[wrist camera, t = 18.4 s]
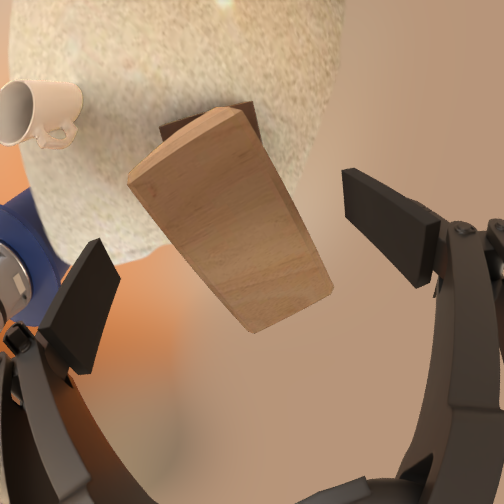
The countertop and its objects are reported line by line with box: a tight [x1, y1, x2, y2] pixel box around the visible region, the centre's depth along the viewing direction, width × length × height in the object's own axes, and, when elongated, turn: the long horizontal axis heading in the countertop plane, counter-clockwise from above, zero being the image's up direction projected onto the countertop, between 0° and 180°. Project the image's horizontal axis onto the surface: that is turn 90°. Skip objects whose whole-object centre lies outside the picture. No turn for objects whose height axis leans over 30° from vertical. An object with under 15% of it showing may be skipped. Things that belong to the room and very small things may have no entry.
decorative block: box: [127, 107, 334, 334], centre depth 21 cm, size 11×6×20 cm, turn 28°
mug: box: [0, 79, 83, 149], centre depth 21 cm, size 10×7×12 cm, turn 35°
